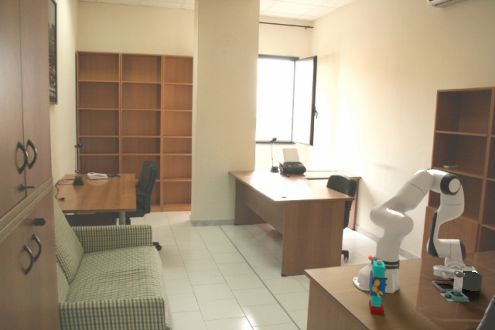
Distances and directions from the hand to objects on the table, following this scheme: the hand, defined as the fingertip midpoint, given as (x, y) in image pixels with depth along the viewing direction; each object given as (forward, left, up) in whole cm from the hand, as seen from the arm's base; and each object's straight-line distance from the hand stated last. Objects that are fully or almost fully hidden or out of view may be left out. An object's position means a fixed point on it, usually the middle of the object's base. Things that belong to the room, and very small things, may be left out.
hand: (456, 279), depth 199 cm
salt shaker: (-3, -6, -6) cm, 9 cm away
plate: (-4, -6, -7) cm, 10 cm away
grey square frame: (-2, +5, -7) cm, 9 cm away
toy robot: (-46, -18, -8) cm, 50 cm away
